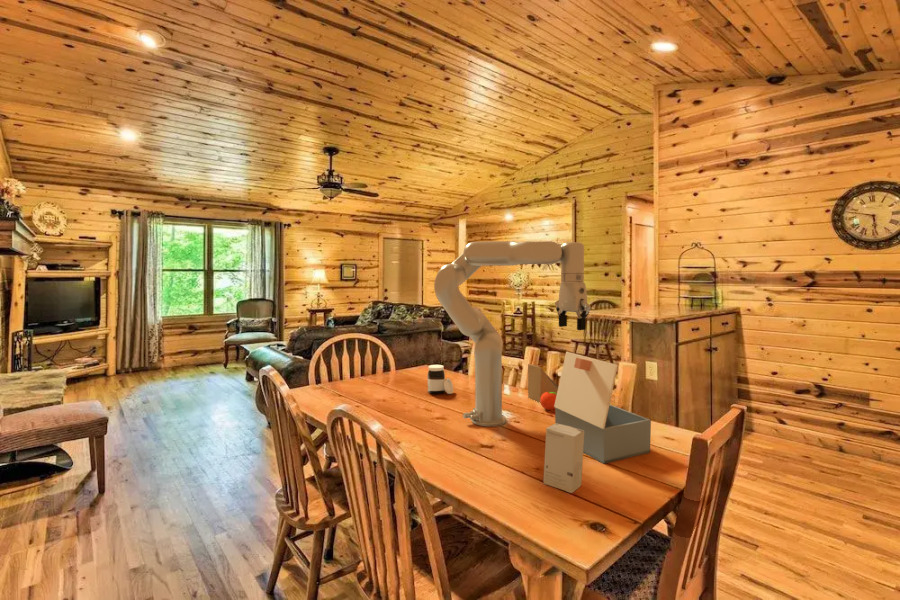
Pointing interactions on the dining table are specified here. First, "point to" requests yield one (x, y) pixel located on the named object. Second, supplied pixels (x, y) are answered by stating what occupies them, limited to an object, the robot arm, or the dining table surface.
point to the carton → (612, 434)
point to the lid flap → (586, 388)
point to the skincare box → (563, 457)
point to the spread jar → (438, 380)
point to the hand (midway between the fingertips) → (571, 328)
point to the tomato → (548, 400)
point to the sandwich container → (539, 383)
